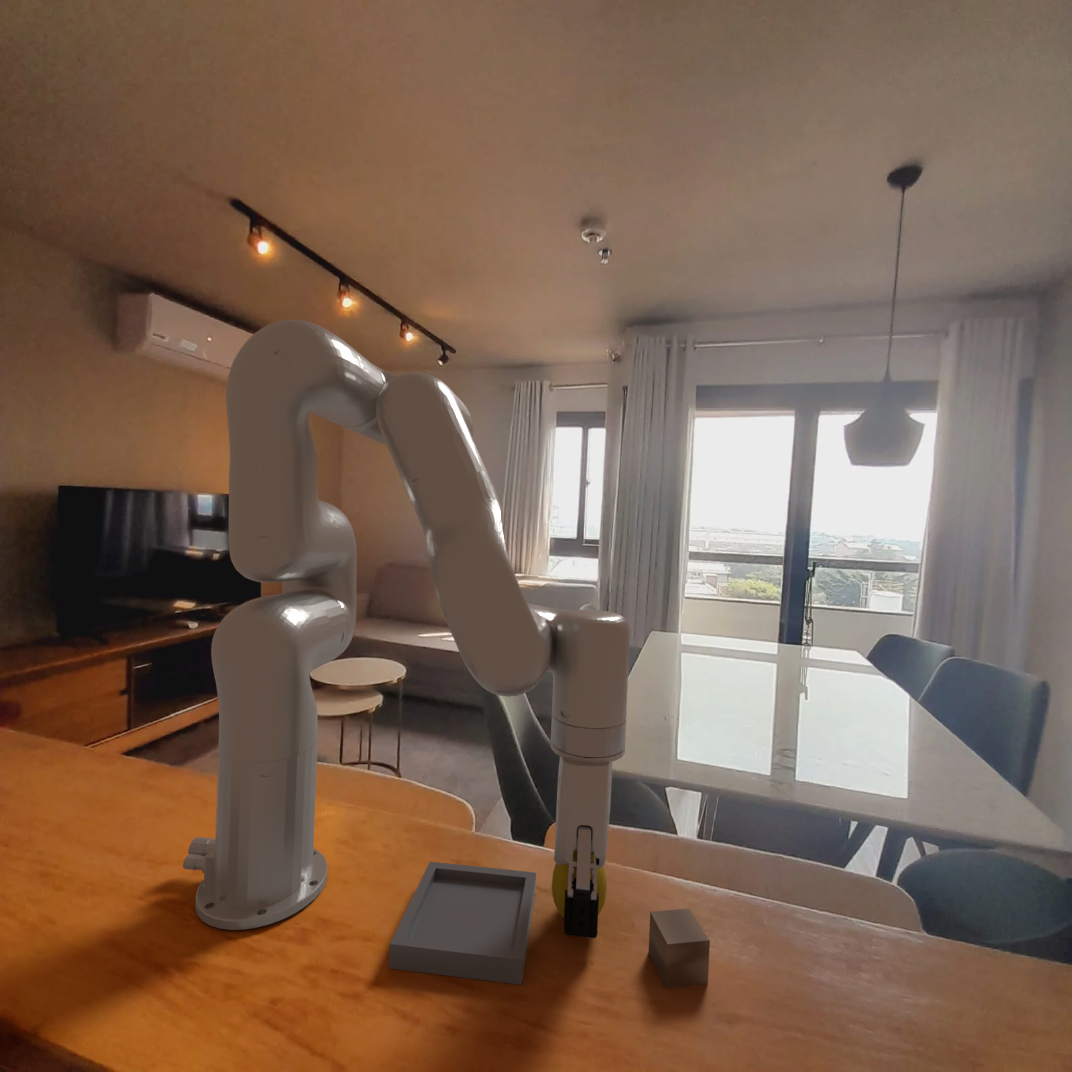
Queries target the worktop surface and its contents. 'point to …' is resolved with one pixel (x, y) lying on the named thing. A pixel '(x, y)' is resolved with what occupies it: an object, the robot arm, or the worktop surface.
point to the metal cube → (679, 948)
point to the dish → (467, 923)
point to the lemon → (562, 877)
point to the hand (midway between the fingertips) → (580, 909)
